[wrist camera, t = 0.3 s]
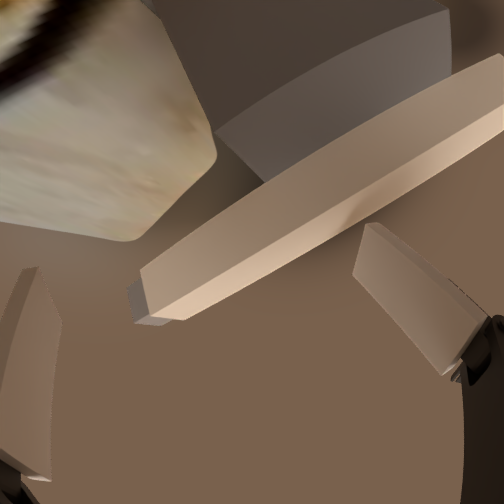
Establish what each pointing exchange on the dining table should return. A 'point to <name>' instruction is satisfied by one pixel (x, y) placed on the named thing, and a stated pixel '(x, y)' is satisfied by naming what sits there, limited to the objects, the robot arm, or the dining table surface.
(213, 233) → the beige square bar
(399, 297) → the robot arm
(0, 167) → the dining table surface
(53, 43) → the dining table surface
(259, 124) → the stand
